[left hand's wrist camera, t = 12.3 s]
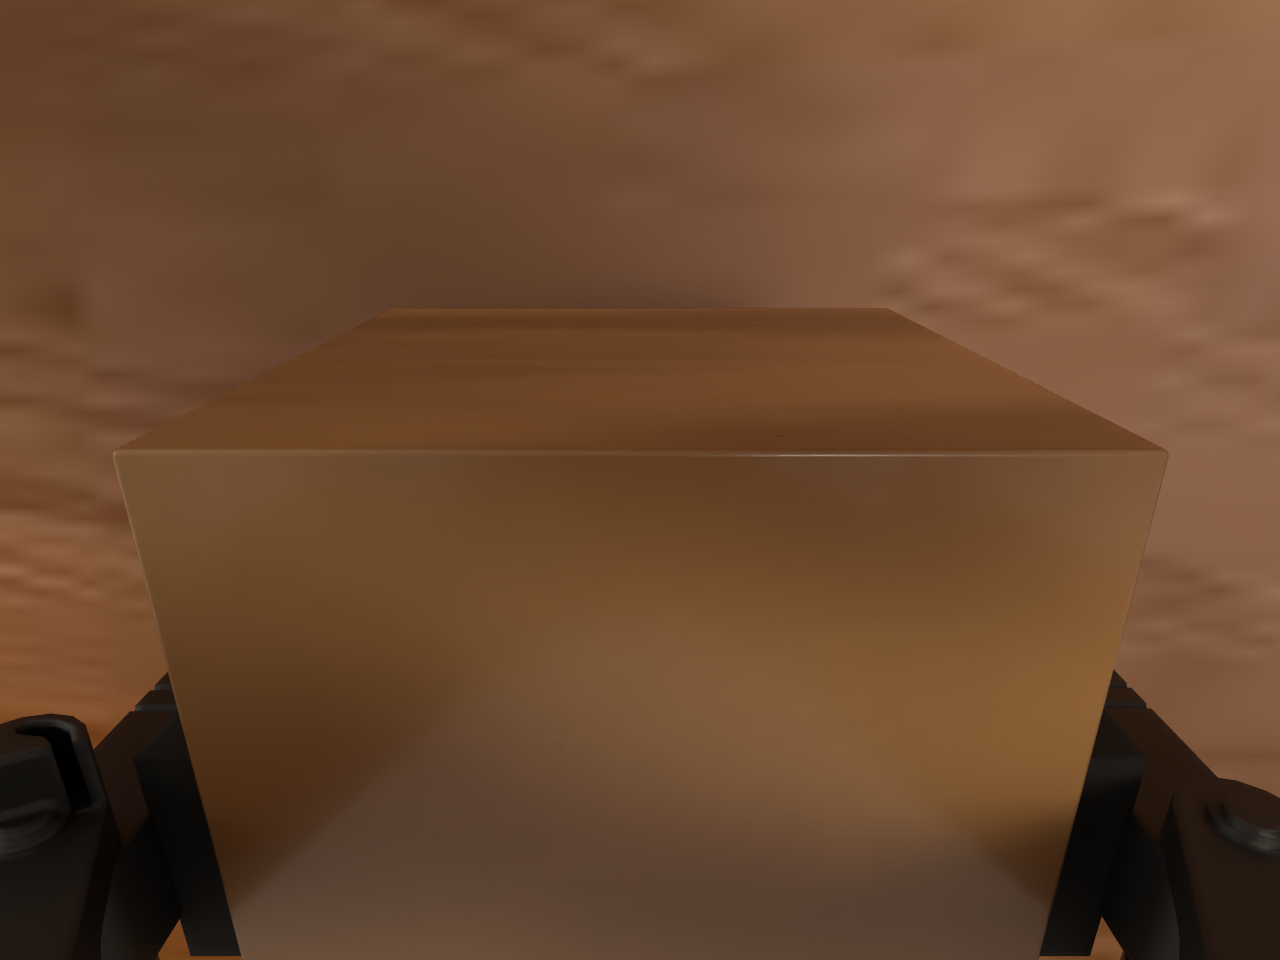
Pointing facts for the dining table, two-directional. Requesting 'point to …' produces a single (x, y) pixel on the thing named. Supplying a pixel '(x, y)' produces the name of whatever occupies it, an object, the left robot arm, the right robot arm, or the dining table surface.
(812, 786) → the thick board
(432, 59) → the dining table surface
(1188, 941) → the left robot arm
